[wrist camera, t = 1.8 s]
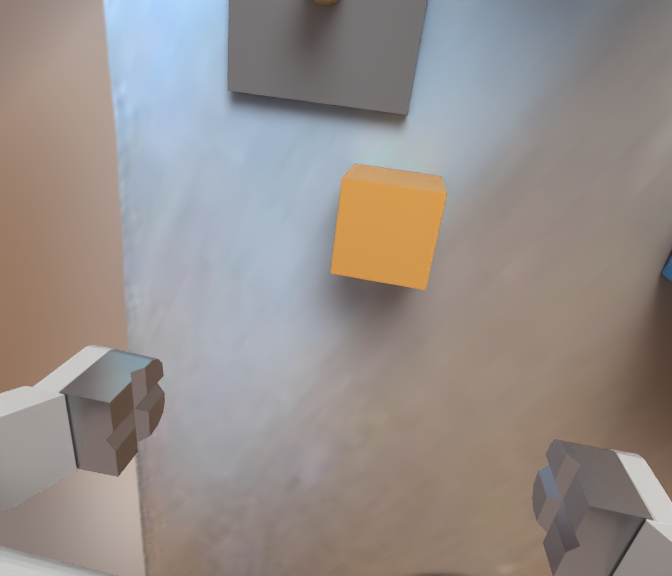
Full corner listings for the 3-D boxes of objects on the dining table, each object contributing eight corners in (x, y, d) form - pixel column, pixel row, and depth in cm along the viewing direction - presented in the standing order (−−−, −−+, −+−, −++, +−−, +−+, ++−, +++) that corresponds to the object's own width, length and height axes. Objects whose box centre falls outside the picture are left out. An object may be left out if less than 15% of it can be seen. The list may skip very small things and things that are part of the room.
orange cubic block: (423, 258, 27) (425, 290, 23) (344, 244, 28) (330, 273, 23) (441, 176, 25) (447, 193, 21) (355, 163, 26) (342, 177, 21)
